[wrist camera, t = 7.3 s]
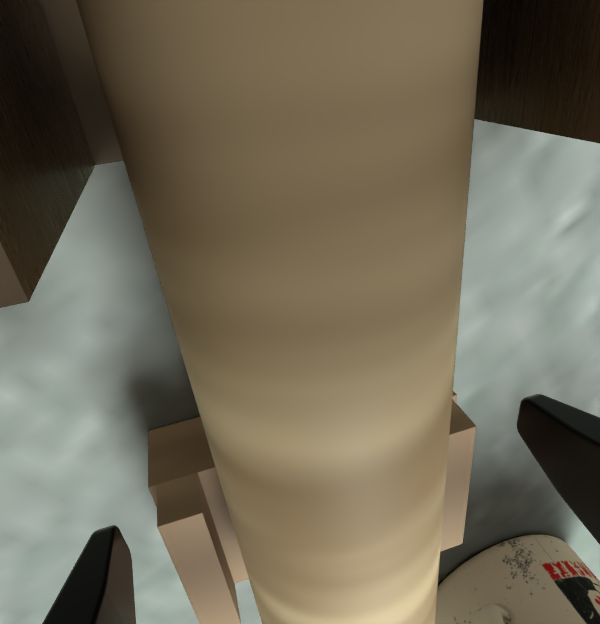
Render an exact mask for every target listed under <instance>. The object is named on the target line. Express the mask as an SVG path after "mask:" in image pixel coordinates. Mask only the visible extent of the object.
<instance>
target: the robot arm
mask: <svg viewBox="0 0 600 624" xmlns="http://www.w3.org/2000/svg"><path fill="white" fill-rule="evenodd" d="M517 429H518V432H519V434H520V436H521V437H522V439H523V440H524V442H525V443H526V445H527V446H528V448H529V449H530V451H531V452H532V454H533V456H534V457H535V459H536V460H537V462H538V463H539V465H540V466H541V468H542V469H543V471H544V472H545V474H546V475H547V477H548V478H549V480H550V481H551V483H552V484H553V486H554V487H555V488H556V490H557V491H558V493H559V494H560V495H561V497H562V498H563V499H564V501H565V502H566V503H567V504H568V506H569V507H570V508H571V509H572V511H573V512H574V513H575V514H576V516H577V517H578V518H579V519H580V520H581V522H582V523H583V524H584V525H585V527H586V528H587V529H588V530H589V532H590V533H591V534H592V535H593V537H594V538H595V539H596V540H597V542H598V543H599V544H600V418H599V417H597V416H594V415H592V414H589V413H587V412H584V411H582V410H579V409H577V408H574V407H572V406H569V405H567V404H564V403H562V402H559V401H557V400H554V399H552V398H549V397H547V396H544V395H540V394H537V395H533V396H530V397H526V398H524V399H523V400H522V401H521V403H520V409H519V414H518V420H517ZM42 624H136V617H135V602H134V587H133V571H132V559H131V553H130V550H129V548H128V546H127V544H126V542H125V540H124V538H123V536H122V534H121V532H120V530H119V528H118V527H117V526H115V525H112V526H109V527H106V528H103V529H99V530H97V531H95V532H94V533H93V534H92V535H91V537H90V539H89V540H88V542H87V544H86V546H85V548H84V549H83V551H82V553H81V555H80V557H79V558H78V560H77V562H76V564H75V566H74V567H73V569H72V571H71V573H70V575H69V576H68V578H67V580H66V582H65V584H64V586H63V587H62V589H61V591H60V593H59V595H58V596H57V598H56V600H55V602H54V604H53V605H52V607H51V609H50V611H49V613H48V614H47V616H46V618H45V620H44V622H43V623H42Z"/></svg>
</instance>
